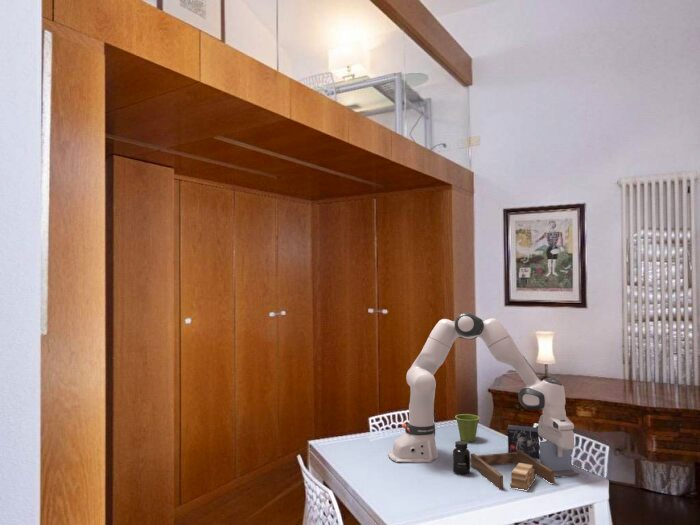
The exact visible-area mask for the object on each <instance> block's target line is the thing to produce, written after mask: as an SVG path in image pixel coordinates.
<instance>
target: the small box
mask: <svg viewBox="0 0 700 525" xmlns="http://www.w3.org/2000/svg"><path fill="white" fill-rule="evenodd" d="M539 437H540V436H539V434H538V426H527V425H526V426H522V425H513V424H512V425H511V424H508V426H507V453H513V452H516V450H521V451H523V452H524V453H526V454H528V455H529V456H531V457H532V458H534V459H536V458H538V460H539V459H540V438H539Z"/></svg>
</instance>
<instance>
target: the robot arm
mask: <svg viewBox="0 0 700 525" xmlns="http://www.w3.org/2000/svg"><path fill="white" fill-rule="evenodd" d="M458 338H459V339H463V340H464V339H465V340H475V339H476V338H480V339H481V340H482V341H483V342H484V345H486V347H487V349H488V350H489V352H490V354H491V356H493V358H494V359H495V360H496V361H497V362H499V363H502V364H506V365H508V366H510V367H511V368H513V369H514V370H515V371H516V373H517V374H518V375H519V377H520V378H521V380H522V381H523V382H524V384H525V386H524V387H523V388H521V389H520V390H519V392H518V395H517V396H518V402H519V404H520V405H521V406H522V407H523V408H524V409H526V410H531V411H533V410H541V411H542V414H541V415H540V416H539V420H538V422H537V423H538V424H537V428H538V434H539V437H540V438H542V439H544V440H545V441H550V442H552V443H554V444H555V445H557V448H558V451H556V455H557V456H558V457H562V452H563V450H571V451H572V450H573V449H574V448H575V433H574V431H573V430H574V428H575V425H574V423H573V422H572V421H571V420H570V418H569V417H568V416H567V413H566V408H565V405H566V393H565V392H566V391H565V387H564V384H563V383H562V382H561V381H559V380H557V379H553V378H544V379H543V380H542V379H541V378H540V377H539V376H538V374H537V372H535V370H534V369H533V367H532V365H531V364H530V363H529V362H528V360H527V359H526V357H525V356H524V355H523V354H522V352H521V350H520V348H518V346H517V345H516V343H515V341H514V340H513V337H512V336H511V334H510V333H509V332H508V330H507V329H506V328H505V326H504V325H503V324H502V323H501V321H499V320H498V319H497V318H491V317H490V318H488V319H486V320H483V319H482V318H480V317H478V316H477V315H475V314H473V313H471V312H463V313H461V314H459V315H457V317H456V318H455V320H450V319H448V318H442V319H440V320H438V322H437V323H436V324H435V326H434V327H433V329H432V330H431V332H430V334H429V335H428V337H427V340H426V342H425V343H424V345H423V347H422V350H421V351H420V353H419V354H418V356H417V357H416V359H415V360H414V361H413V363H412V364H411V366H410V368H408V370H407V372H406V377H405V379H406V380H405V381H406V383H407V385H408V386H409V387H410V388H409V389H410V396H409V405H408V415H409V416H408V420H409V421H408V423H405V422H403V423H402V424H401V427H402V428H403V429H404V430H405V431H404V432H403V433H402V434H401V435H400V436H399V437H397V438H396V439H395V440H394V441H393V444H392V449H391V450H389V451H388V452H387V456H388V455H389V457H390V458H391V459H393V460H394V461H397V462H415V463H431V462H433V460H435V459H437V458H438V457H439V453H438V449H437V445H436V443H437V442H436V424H435V421H434V420H435V416H434V415H435V413H434V409H435V408H434V405H435V396H436V387H437V382H436V378H435V376H434V375H435V374H436V373H437V371H438V369H439V368H440V367H441V366H442V365H443V364H444V362H445V360H446V358H447V356H448V355H449V353H450V351H451V348H452V346H453V344H454V343H455V341H456V339H458ZM389 457H388V458H389ZM390 458H389V459H390ZM391 459H390V460H391ZM394 461H393V462H394ZM397 462H396V463H397Z"/></svg>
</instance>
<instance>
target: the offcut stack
mask: <svg viewBox="0 0 700 525" xmlns="http://www.w3.org/2000/svg"><path fill="white" fill-rule="evenodd" d="M510 475H511V476H510V478H511V482H510V484H509V485H510V486H509V487H511V488H518V489H524V490H527V489H528V488H529V486H530V485H531V484H532V485H533V483H534V482H535V481H534V479H535V478H536V474H535V469H533V465H530V464H524V463H517V464H516V466H515V467H514V468H513V469H512V471H510ZM535 480H536V479H535ZM533 481H534V482H533ZM532 482H533V483H532ZM532 485H531V486H532ZM531 486H530V487H531ZM511 488H510V489H511ZM529 489H530V488H529ZM529 489H528V490H529Z"/></svg>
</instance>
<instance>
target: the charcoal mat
mask: <svg viewBox="0 0 700 525" xmlns="http://www.w3.org/2000/svg"><path fill="white" fill-rule="evenodd" d="M573 475H579V476H580V473H579V472H578V471H575V470H574V469H573V468H572V469H570V470H560V471H554V477H559V478H563V477H562V476H569V477H574V476H573Z"/></svg>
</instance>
